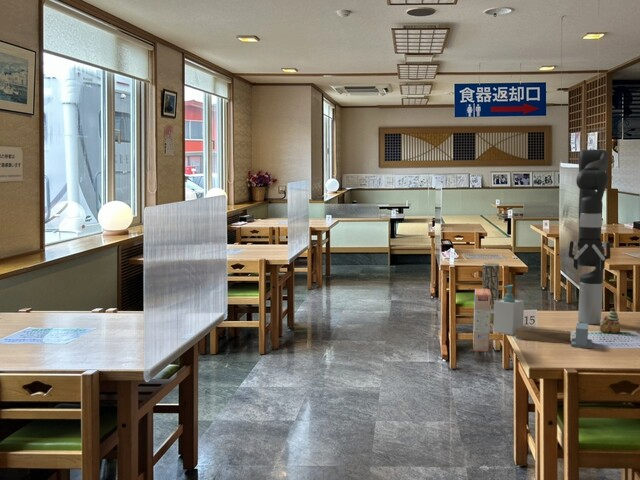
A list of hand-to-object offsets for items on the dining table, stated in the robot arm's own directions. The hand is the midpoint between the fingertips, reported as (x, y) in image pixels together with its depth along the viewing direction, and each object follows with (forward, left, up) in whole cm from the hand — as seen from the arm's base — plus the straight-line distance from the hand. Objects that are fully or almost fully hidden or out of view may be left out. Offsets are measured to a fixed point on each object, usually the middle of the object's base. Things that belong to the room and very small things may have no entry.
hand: (588, 269), depth 260 cm
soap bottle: (-13, -30, -29) cm, 43 cm away
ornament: (-29, +8, -29) cm, 41 cm away
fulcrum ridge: (-3, -2, -29) cm, 29 cm away
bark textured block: (-31, -40, -29) cm, 58 cm away
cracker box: (+16, -36, -29) cm, 49 cm away
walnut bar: (-5, -16, -29) cm, 33 cm away
